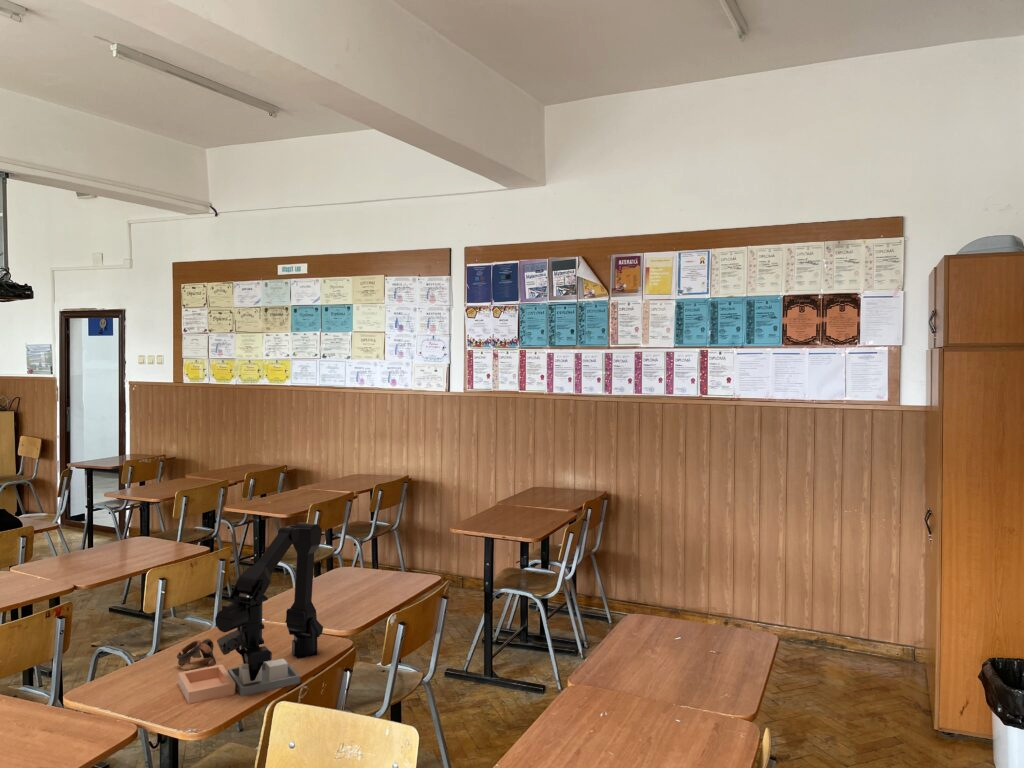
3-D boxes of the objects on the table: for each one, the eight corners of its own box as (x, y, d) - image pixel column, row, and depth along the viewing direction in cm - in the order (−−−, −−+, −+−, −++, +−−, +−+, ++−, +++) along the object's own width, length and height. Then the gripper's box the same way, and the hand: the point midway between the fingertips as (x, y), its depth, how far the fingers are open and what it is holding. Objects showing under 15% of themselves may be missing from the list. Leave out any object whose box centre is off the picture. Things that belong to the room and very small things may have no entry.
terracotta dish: (222, 676, 210) (222, 664, 210) (235, 696, 198) (235, 682, 198) (177, 685, 203) (178, 672, 203) (188, 706, 192) (188, 692, 191)
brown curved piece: (210, 675, 212) (194, 651, 210) (183, 686, 214) (166, 663, 212) (228, 648, 224) (213, 626, 222) (202, 660, 225) (187, 638, 224)
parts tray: (283, 667, 217) (284, 658, 217) (300, 685, 205) (300, 675, 205) (227, 678, 209) (227, 669, 209) (241, 698, 197) (241, 688, 197)
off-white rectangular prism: (283, 672, 212) (283, 658, 212) (287, 677, 209) (287, 663, 209) (265, 676, 209) (265, 662, 209) (269, 681, 206) (269, 667, 206)
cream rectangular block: (257, 675, 208) (257, 661, 208) (261, 680, 205) (262, 666, 205) (239, 679, 205) (239, 664, 205) (242, 684, 202) (243, 669, 202)
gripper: (212, 615, 208) (211, 671, 208) (228, 636, 192) (227, 697, 193) (253, 609, 214) (252, 663, 214) (272, 628, 199) (271, 687, 199)
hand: (250, 677), depth 205 cm, fingers closed on cream rectangular block, 4 cm apart
